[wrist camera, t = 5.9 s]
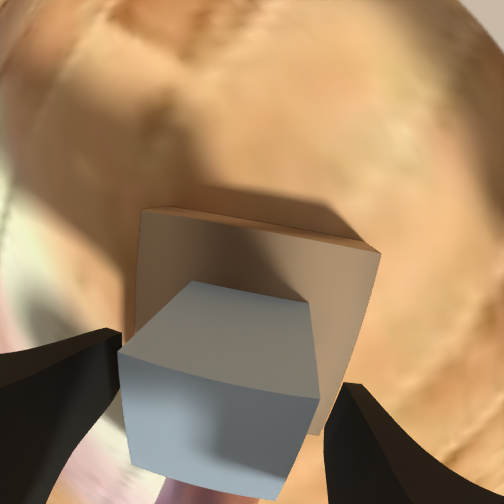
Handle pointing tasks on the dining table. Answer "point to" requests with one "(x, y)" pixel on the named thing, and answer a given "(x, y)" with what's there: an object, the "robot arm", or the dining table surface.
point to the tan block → (261, 276)
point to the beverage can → (197, 495)
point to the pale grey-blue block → (221, 389)
